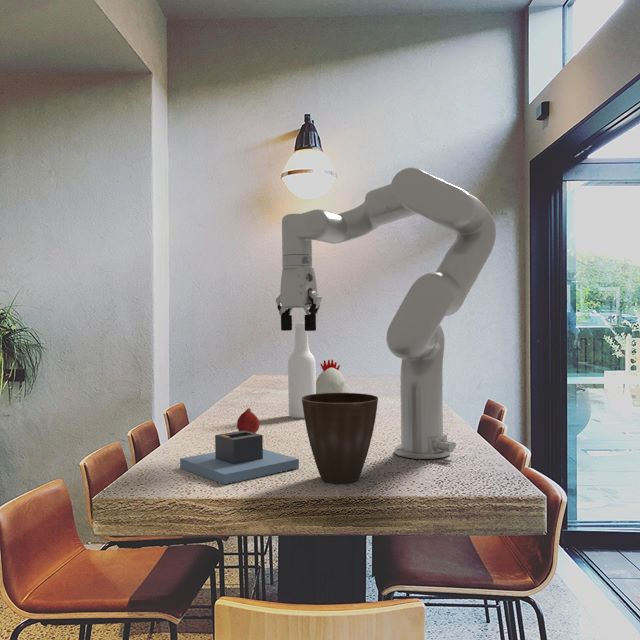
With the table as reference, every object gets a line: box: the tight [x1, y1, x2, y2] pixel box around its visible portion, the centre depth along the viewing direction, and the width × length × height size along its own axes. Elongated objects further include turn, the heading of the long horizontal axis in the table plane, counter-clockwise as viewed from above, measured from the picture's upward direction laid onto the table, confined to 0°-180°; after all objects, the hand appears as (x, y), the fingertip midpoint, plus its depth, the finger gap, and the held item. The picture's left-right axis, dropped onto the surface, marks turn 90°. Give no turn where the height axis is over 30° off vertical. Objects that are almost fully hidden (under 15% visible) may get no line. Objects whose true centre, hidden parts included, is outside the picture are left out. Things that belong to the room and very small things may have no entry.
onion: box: [236, 407, 260, 434], centre depth 159 cm, size 6×6×8 cm
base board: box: [179, 448, 300, 485], centre depth 128 cm, size 18×18×2 cm
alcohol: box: [287, 321, 317, 420], centre depth 193 cm, size 9×9×30 cm
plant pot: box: [302, 392, 379, 484], centre depth 119 cm, size 15×15×16 cm
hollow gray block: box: [214, 431, 264, 464], centre depth 128 cm, size 7×7×5 cm
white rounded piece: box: [316, 359, 350, 394], centre depth 237 cm, size 14×14×15 cm
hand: (298, 330), depth 154 cm, fingers open, 9 cm apart
